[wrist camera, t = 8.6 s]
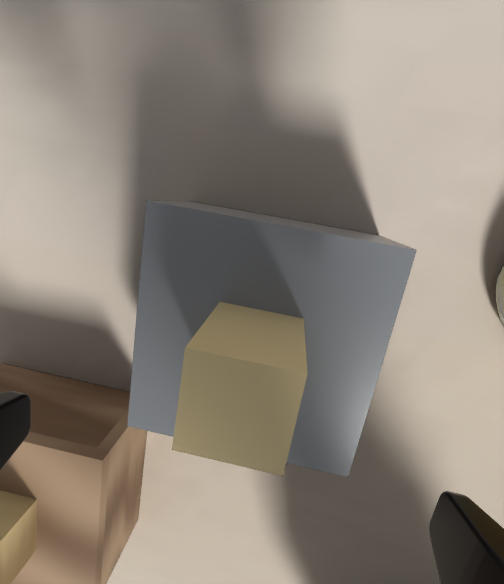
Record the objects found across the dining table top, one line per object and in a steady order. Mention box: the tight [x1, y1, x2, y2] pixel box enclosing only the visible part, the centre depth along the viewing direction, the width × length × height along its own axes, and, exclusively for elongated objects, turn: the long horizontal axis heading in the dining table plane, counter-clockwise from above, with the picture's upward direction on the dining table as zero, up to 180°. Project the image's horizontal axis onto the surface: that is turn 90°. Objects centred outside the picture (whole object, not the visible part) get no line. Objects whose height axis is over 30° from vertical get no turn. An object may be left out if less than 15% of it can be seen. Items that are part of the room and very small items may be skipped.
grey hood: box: [127, 201, 416, 477], centre depth 13 cm, size 9×9×9 cm
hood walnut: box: [0, 364, 147, 584], centre depth 17 cm, size 9×9×9 cm
